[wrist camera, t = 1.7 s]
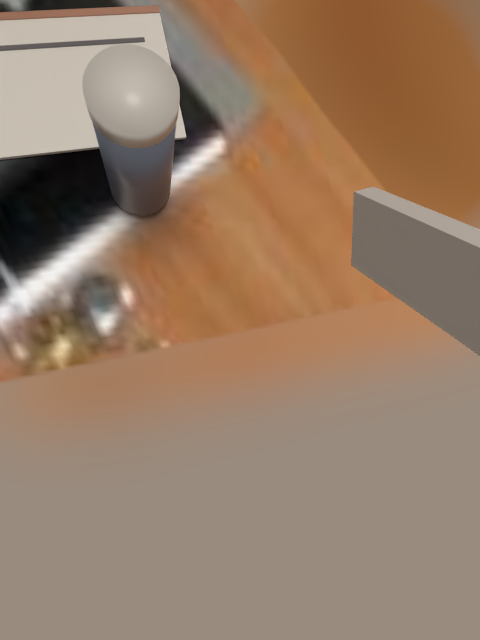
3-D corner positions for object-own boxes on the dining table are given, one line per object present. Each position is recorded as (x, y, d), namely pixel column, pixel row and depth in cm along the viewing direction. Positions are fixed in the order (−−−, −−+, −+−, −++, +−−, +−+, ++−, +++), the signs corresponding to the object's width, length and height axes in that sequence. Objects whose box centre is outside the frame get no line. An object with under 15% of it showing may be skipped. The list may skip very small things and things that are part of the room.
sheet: (-124, 173, 27) (-128, 171, 26) (-152, 24, 27) (-157, 19, 27) (186, 139, 31) (186, 136, 30) (158, 9, 31) (158, 5, 31)
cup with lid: (117, 224, 29) (93, 140, 18) (106, 168, 30) (73, 47, 18) (175, 216, 30) (188, 129, 19) (163, 161, 30) (169, 41, 19)
